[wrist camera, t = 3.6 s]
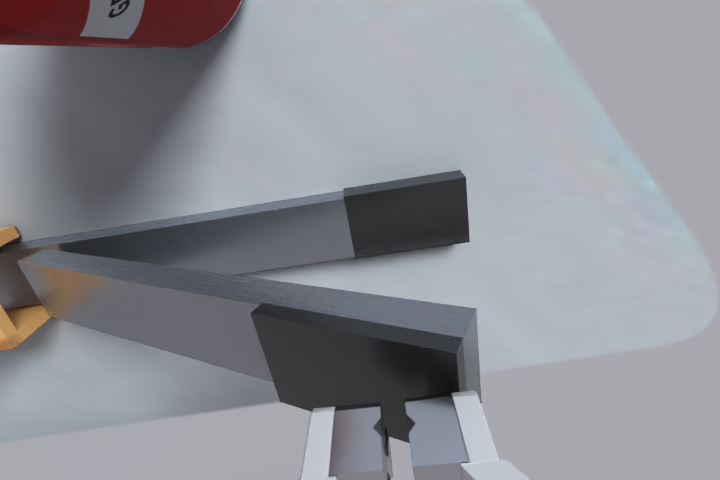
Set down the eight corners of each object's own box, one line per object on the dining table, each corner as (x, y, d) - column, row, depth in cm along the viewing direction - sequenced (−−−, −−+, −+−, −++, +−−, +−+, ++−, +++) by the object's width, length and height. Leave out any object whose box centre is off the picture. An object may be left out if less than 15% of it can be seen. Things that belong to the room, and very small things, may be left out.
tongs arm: (75, 303, 20) (38, 324, 19) (44, 247, 19) (2, 264, 18) (481, 405, 11) (465, 461, 9) (476, 304, 9) (455, 353, 8)
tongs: (-37, 306, 22) (-58, 319, 21) (-73, 255, 21) (-97, 266, 20) (463, 231, 20) (469, 241, 19) (459, 170, 19) (465, 177, 18)
